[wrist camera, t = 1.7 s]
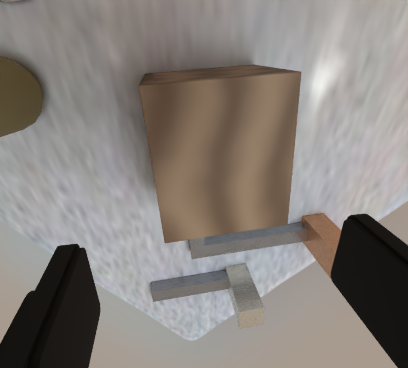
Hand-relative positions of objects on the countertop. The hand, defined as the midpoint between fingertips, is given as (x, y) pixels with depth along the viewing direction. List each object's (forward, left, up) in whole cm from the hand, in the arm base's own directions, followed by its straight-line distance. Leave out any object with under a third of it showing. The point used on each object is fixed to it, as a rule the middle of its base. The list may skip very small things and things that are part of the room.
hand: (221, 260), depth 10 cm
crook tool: (-12, +20, -30) cm, 39 cm away
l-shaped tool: (-1, +32, -30) cm, 44 cm away
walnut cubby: (-4, +4, -30) cm, 31 cm away
